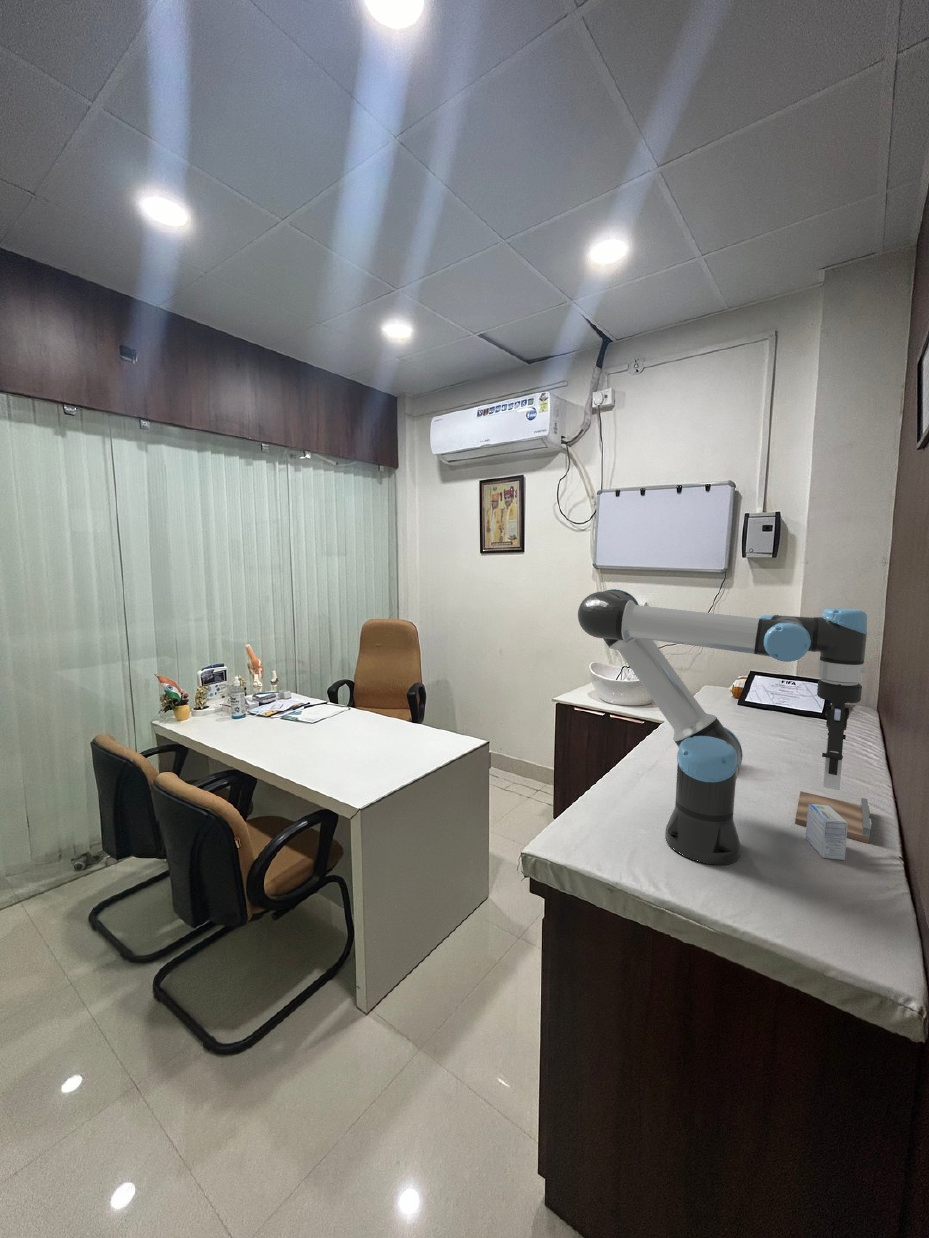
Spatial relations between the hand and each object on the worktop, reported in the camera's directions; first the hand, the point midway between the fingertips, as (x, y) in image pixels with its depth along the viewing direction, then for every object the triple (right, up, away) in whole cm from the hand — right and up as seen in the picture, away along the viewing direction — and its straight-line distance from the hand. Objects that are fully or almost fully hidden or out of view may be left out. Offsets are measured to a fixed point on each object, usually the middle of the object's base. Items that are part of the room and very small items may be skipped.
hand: (831, 777), depth 108 cm
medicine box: (0, -17, +2) cm, 17 cm away
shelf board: (+11, -15, +16) cm, 25 cm away
